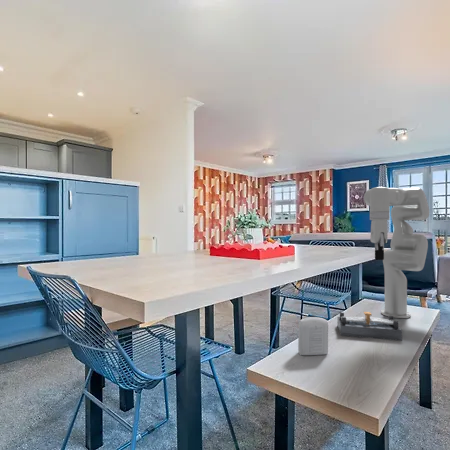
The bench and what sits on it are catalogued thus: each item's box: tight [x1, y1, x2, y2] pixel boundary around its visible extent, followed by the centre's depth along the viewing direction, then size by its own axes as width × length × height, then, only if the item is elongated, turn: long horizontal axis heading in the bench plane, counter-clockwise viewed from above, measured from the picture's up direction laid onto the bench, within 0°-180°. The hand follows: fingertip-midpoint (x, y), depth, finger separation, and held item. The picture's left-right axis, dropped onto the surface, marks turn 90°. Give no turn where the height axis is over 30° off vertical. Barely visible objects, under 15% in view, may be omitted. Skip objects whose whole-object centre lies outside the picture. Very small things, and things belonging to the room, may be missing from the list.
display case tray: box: [336, 311, 403, 341], centre depth 127 cm, size 12×22×8 cm, turn 76°
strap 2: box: [370, 316, 395, 325], centre depth 125 cm, size 9×5×1 cm, turn 76°
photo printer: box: [297, 316, 329, 356], centre depth 107 cm, size 10×4×12 cm, turn 98°
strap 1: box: [341, 315, 366, 322], centre depth 128 cm, size 9×5×1 cm, turn 76°
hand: (379, 259), depth 133 cm, fingers closed
